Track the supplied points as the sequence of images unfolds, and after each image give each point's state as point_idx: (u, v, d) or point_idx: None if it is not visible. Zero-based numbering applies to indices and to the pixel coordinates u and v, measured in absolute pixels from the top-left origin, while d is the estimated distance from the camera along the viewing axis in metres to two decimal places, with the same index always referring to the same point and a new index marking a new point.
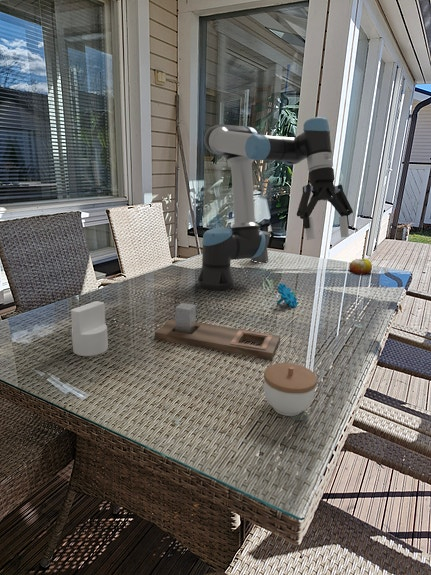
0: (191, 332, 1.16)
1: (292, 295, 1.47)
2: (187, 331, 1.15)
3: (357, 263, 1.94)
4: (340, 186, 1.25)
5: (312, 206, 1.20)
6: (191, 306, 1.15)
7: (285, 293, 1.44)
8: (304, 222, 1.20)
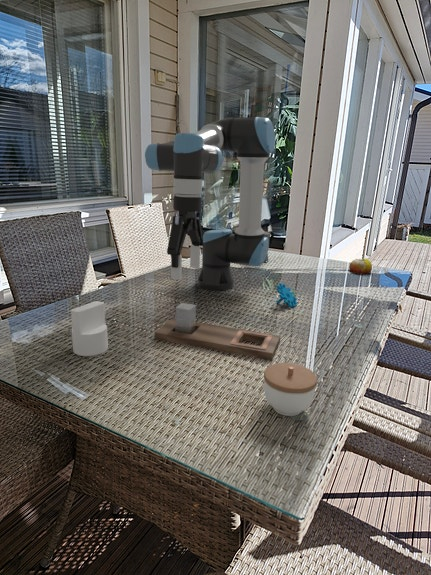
0: (191, 332, 1.16)
1: (292, 295, 1.47)
2: (187, 331, 1.15)
3: (357, 263, 1.94)
4: None
5: None
6: (191, 306, 1.15)
7: (284, 293, 1.45)
8: None
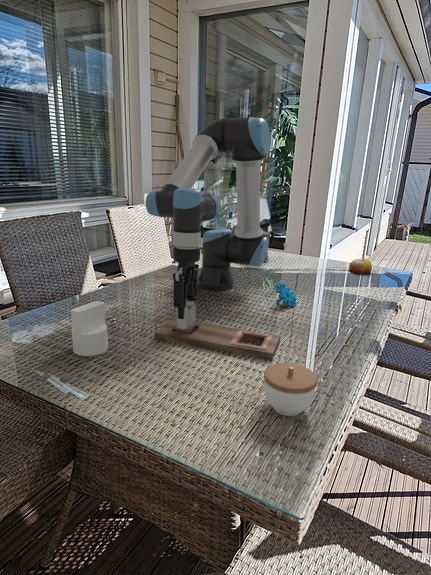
0: (191, 332, 1.16)
1: (291, 295, 1.48)
2: (187, 331, 1.15)
3: (357, 263, 1.94)
4: None
5: None
6: (191, 306, 1.15)
7: (284, 293, 1.45)
8: None
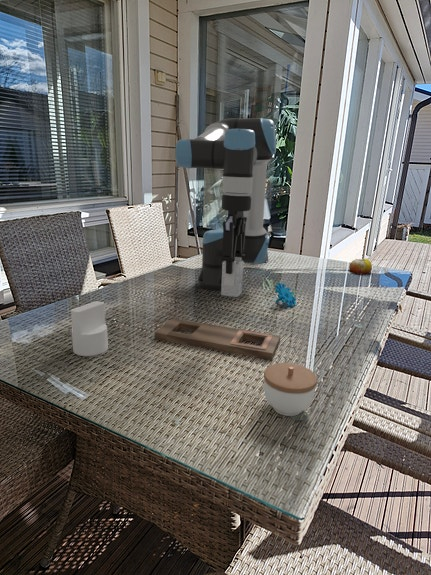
0: (238, 290, 1.07)
1: (291, 295, 1.48)
2: (234, 288, 1.06)
3: (357, 263, 1.94)
4: None
5: None
6: (239, 261, 1.07)
7: (283, 292, 1.45)
8: None
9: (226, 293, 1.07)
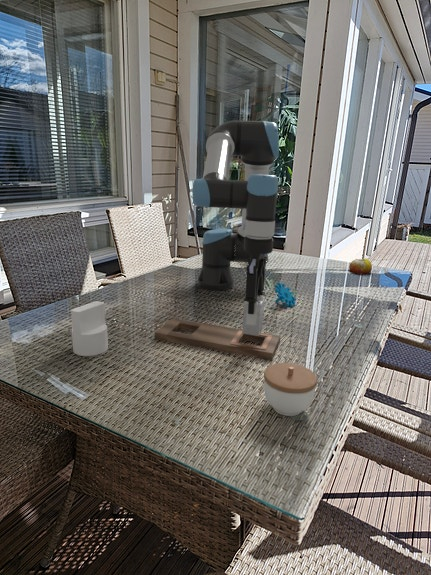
0: (260, 328, 1.09)
1: (290, 295, 1.48)
2: (256, 327, 1.07)
3: (357, 263, 1.94)
4: None
5: None
6: (260, 301, 1.08)
7: (282, 292, 1.45)
8: None
9: (248, 332, 1.09)
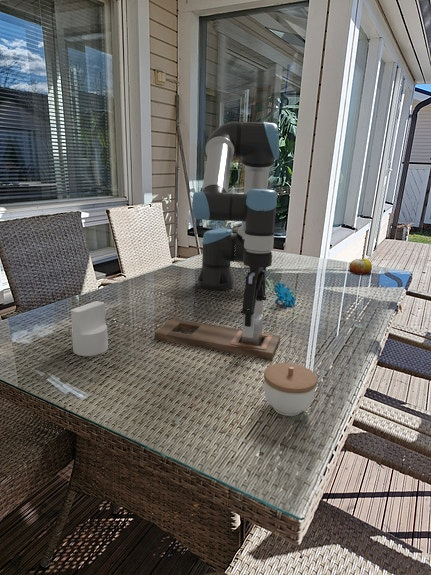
0: (258, 343, 1.10)
1: (290, 294, 1.48)
2: (255, 343, 1.09)
3: (357, 263, 1.94)
4: None
5: None
6: (259, 316, 1.10)
7: (282, 292, 1.45)
8: None
9: None
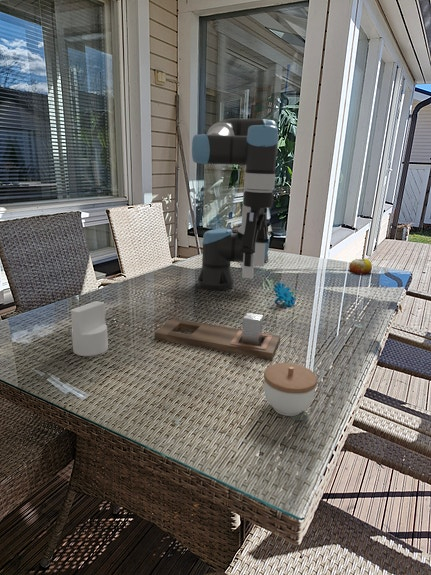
0: (258, 343, 1.10)
1: (290, 294, 1.48)
2: (255, 343, 1.09)
3: (357, 263, 1.94)
4: None
5: None
6: (259, 316, 1.10)
7: (281, 292, 1.46)
8: None
9: None
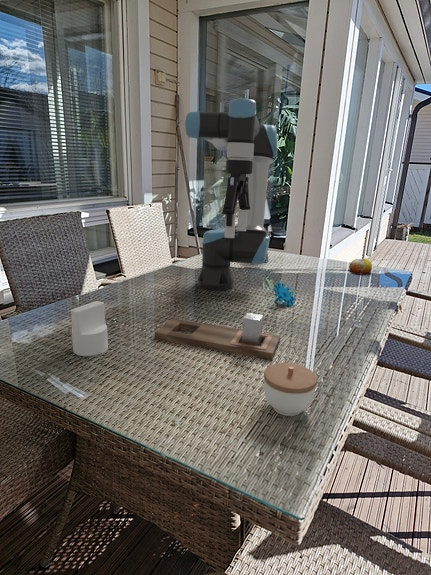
0: (258, 343, 1.10)
1: (289, 294, 1.48)
2: (255, 343, 1.09)
3: (357, 263, 1.94)
4: None
5: None
6: (259, 316, 1.10)
7: (281, 292, 1.46)
8: None
9: None
